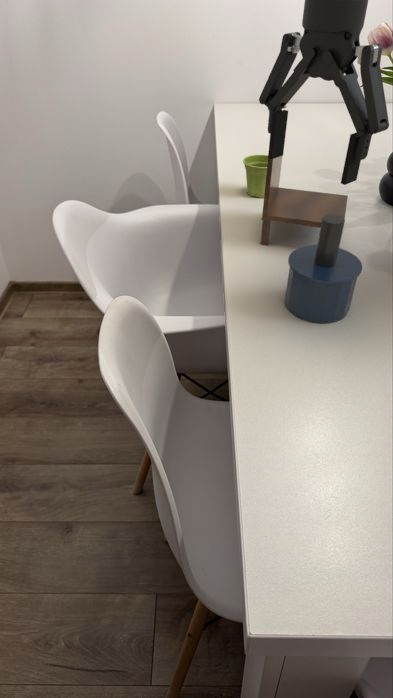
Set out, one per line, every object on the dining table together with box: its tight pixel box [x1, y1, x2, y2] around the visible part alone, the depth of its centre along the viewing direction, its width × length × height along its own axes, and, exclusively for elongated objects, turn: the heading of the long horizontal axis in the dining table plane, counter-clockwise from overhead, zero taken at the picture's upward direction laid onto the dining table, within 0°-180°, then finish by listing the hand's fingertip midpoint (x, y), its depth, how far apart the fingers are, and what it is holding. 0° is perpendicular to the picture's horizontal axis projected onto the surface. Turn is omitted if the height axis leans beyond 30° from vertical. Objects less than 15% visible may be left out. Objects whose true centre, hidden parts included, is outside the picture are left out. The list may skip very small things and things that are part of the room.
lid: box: [287, 214, 363, 284], centre depth 82 cm, size 13×13×9 cm
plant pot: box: [242, 154, 268, 199], centre depth 126 cm, size 9×9×9 cm
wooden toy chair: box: [260, 156, 349, 246], centre depth 105 cm, size 17×16×19 cm
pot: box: [284, 267, 358, 324], centre depth 87 cm, size 12×12×8 cm
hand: (310, 168), depth 72 cm, fingers open, 13 cm apart
